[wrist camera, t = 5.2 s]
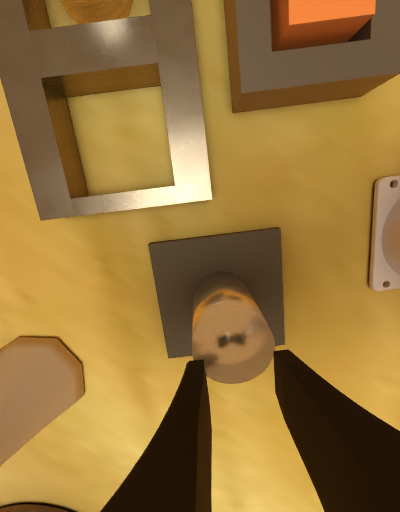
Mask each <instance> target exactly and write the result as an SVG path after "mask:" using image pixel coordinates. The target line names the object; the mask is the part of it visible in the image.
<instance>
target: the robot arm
mask: <svg viewBox="0 0 400 512" xmlns="http://www.w3.org/2000/svg"><path fill="white" fill-rule="evenodd" d="M391 181H393V186H392V187H390V182H391ZM385 281H386V283H385V284H384V285H383V283H384V282H385ZM369 286H370V288H371V289H373V290H375V291H384V290H393V289H400V175H397V176H389V177H382V178H379V179H378V180H377V181H376V183H375V190H374V208H373V226H372V243H371V261H370V279H369ZM273 353H274V372H275V392H276V396H277V399H278V402H279V405H280V408H281V411H282V414H283V417H284V420H285V422H286V424H287V427H288V429H289V431H290V433H291V436H292V438H293V440H294V442H295V445H296V447H297V449H298V451H299V453H300V456H301V458H302V460H303V462H304V465H305V467H306V469H307V471H308V473H309V476H310V478H311V480H312V482H313V485H314V487H315V489H316V492H317V494H318V496H319V499H320V501H321V504H322V506H323V509H324V512H400V431H399V430H397V429H395V428H394V427H392V426H390V425H389V424H387V423H386V422H384V421H383V420H381V419H379V418H378V417H376V416H375V415H373V414H371V413H370V412H368V411H367V410H365V409H364V408H362V407H361V406H359V405H358V404H357V403H355V402H354V401H352V400H351V399H350V398H348V397H347V396H345V395H344V394H343V393H341V392H340V391H339V390H337V389H336V388H335V387H333V386H332V385H331V384H330V383H328V382H327V381H326V380H324V379H323V378H322V377H321V376H319V375H318V374H317V373H316V372H314V371H313V370H312V369H311V368H310V367H308V366H307V365H306V364H305V363H304V362H303V361H301V360H300V359H299V358H298V357H297V356H295V355H294V354H293V353H292V352H291V351H289V350H280V351H273ZM211 455H212V427H211V414H210V403H209V394H208V387H207V380H206V372H205V365H204V359H203V360H195V361H189V362H188V363H187V365H186V368H185V371H184V374H183V377H182V380H181V382H180V385H179V387H178V389H177V392H176V394H175V396H174V398H173V400H172V403H171V405H170V407H169V409H168V411H167V413H166V414H165V416H164V418H163V420H162V422H161V424H160V426H159V428H158V429H157V431H156V433H155V435H154V436H153V438H152V440H151V441H150V443H149V445H148V446H147V448H146V449H145V451H144V452H143V454H142V456H141V457H140V459H139V460H138V461H137V463H136V464H135V466H134V467H133V469H132V470H131V472H130V473H129V475H128V476H127V477H126V479H125V480H124V482H123V483H122V484H121V486H120V487H119V488H118V490H117V491H116V492H115V494H114V495H113V496H112V497H111V499H110V500H109V501H108V502H107V504H106V505H105V506H104V507H103V509H102V510H101V511H100V512H212V509H211Z"/></svg>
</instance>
